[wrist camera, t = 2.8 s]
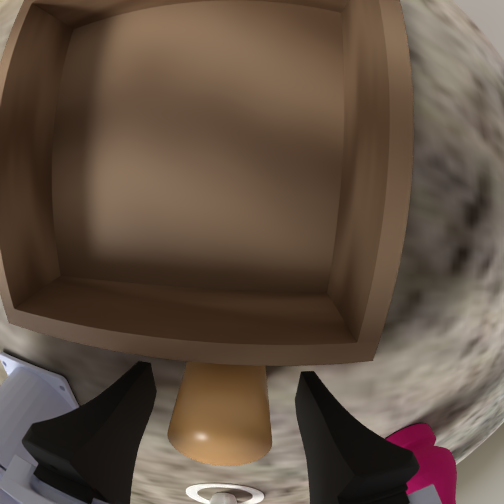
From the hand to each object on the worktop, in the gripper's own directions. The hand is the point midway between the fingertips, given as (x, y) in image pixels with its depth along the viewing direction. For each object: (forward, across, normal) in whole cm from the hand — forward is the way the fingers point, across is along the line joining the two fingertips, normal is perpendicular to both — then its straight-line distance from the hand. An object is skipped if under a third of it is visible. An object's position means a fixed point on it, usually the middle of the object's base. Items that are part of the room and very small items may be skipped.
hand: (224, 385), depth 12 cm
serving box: (+1, +2, -11) cm, 11 cm away
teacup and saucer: (+2, +3, +21) cm, 21 cm away
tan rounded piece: (+2, 0, 0) cm, 2 cm away
